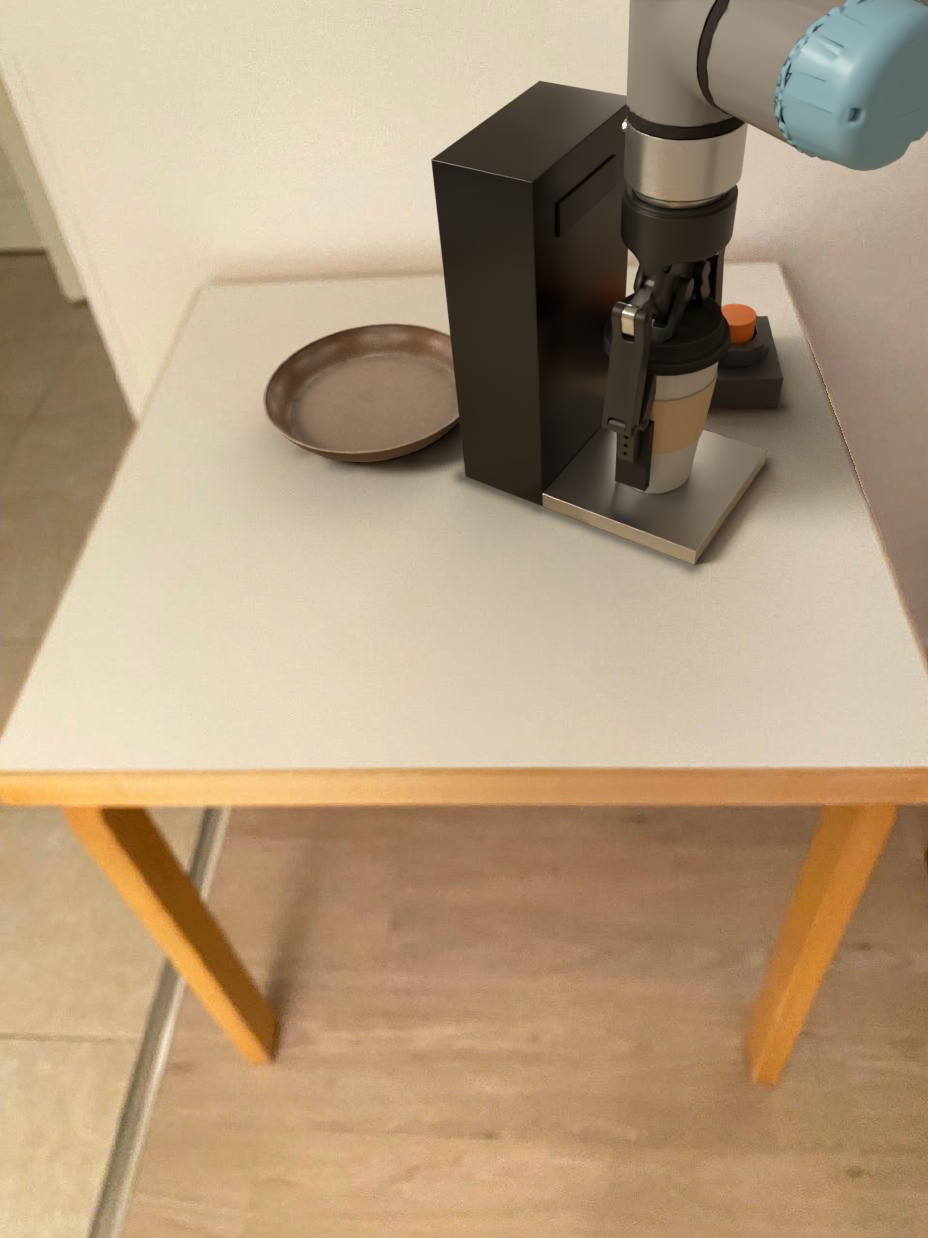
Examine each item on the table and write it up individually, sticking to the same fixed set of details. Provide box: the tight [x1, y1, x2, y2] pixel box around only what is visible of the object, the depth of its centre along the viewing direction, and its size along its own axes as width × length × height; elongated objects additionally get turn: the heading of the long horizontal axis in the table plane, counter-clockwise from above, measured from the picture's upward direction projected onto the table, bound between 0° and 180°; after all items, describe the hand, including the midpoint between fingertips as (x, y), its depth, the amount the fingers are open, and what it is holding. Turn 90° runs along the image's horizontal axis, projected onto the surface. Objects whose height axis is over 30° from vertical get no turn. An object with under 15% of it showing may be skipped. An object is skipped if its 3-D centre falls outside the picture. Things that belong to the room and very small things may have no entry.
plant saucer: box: [262, 322, 460, 463], centre depth 92 cm, size 21×21×3 cm
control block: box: [709, 314, 784, 410], centre depth 91 cm, size 10×8×5 cm
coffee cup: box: [602, 292, 731, 494], centre depth 77 cm, size 9×9×15 cm
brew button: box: [721, 303, 757, 344], centre depth 88 cm, size 4×4×2 cm
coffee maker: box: [431, 80, 768, 565], centre depth 75 cm, size 22×14×28 cm, turn 56°
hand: (656, 452), depth 81 cm, fingers closed on coffee cup, 8 cm apart
